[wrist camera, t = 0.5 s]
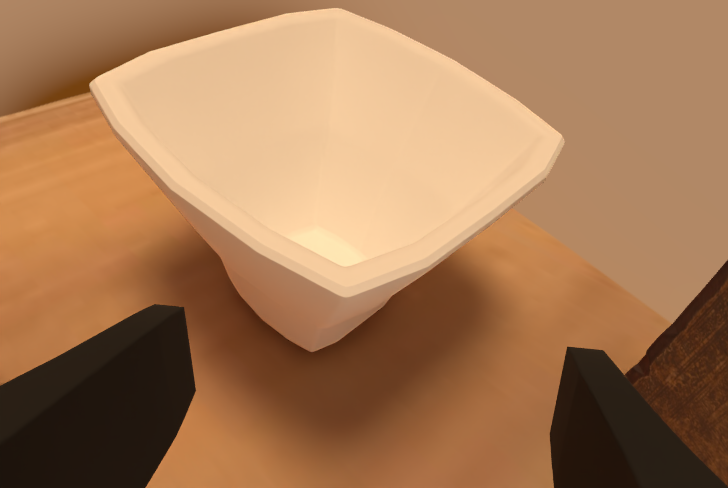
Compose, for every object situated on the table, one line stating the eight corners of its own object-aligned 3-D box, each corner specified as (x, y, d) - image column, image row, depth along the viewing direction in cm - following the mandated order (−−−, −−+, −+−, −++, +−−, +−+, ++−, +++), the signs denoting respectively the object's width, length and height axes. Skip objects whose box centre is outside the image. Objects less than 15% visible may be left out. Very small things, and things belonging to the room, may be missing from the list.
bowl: (92, 279, 37) (46, 76, 27) (318, 166, 49) (342, -5, 39) (301, 503, 29) (340, 332, 20) (508, 305, 41) (596, 137, 32)
